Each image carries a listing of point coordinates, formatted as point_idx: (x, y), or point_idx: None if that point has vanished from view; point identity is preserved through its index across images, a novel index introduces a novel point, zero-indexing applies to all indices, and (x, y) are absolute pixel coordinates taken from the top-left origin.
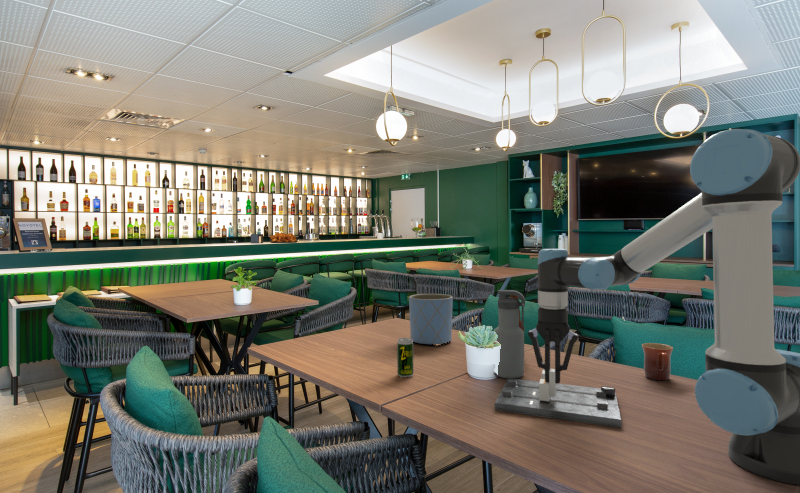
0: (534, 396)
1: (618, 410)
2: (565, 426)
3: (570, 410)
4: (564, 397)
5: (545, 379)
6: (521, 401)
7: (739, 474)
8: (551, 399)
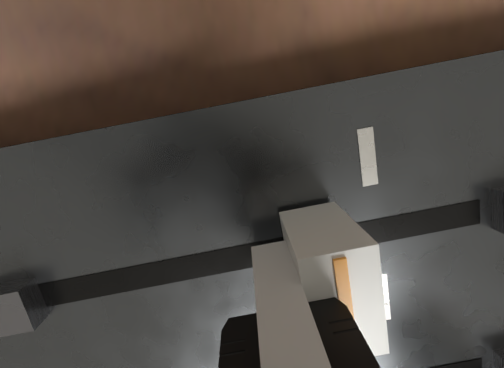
0: None
1: None
2: (146, 32)
3: (142, 157)
4: None
5: (344, 311)
6: (424, 146)
7: None
8: None
